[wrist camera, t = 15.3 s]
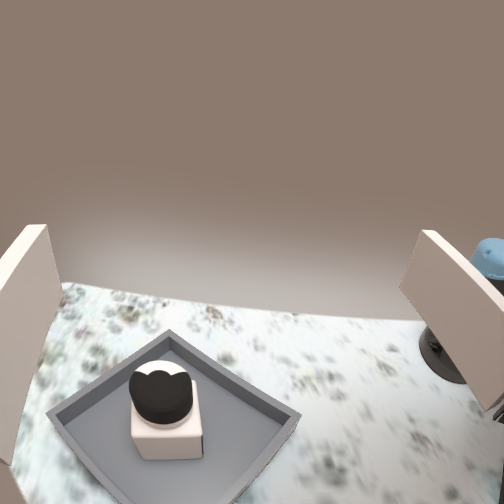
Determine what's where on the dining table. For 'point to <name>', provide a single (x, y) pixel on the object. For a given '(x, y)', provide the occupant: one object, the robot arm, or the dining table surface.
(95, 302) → the dining table surface
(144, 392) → the medicine bottle
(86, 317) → the dining table surface
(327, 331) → the dining table surface
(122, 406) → the box
